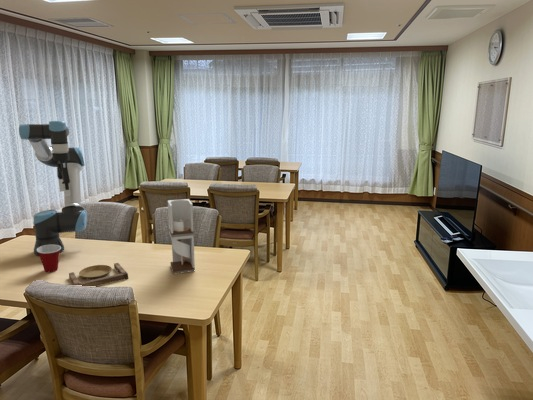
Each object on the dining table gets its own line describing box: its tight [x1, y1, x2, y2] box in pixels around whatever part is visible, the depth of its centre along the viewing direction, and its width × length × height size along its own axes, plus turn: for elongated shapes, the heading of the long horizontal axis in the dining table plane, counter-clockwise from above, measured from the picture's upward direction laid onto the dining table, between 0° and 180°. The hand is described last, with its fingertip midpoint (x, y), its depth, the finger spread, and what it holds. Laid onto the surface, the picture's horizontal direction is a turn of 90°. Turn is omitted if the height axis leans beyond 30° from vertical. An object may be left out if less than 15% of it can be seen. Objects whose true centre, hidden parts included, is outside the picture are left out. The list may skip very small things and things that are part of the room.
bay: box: [68, 262, 129, 287], centre depth 188 cm, size 16×23×2 cm
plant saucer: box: [78, 264, 112, 281], centre depth 192 cm, size 15×15×3 cm
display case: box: [167, 198, 196, 275], centre depth 197 cm, size 11×11×35 cm
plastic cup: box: [36, 245, 61, 273], centre depth 196 cm, size 11×11×12 cm
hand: (65, 193), depth 201 cm, fingers open, 13 cm apart
